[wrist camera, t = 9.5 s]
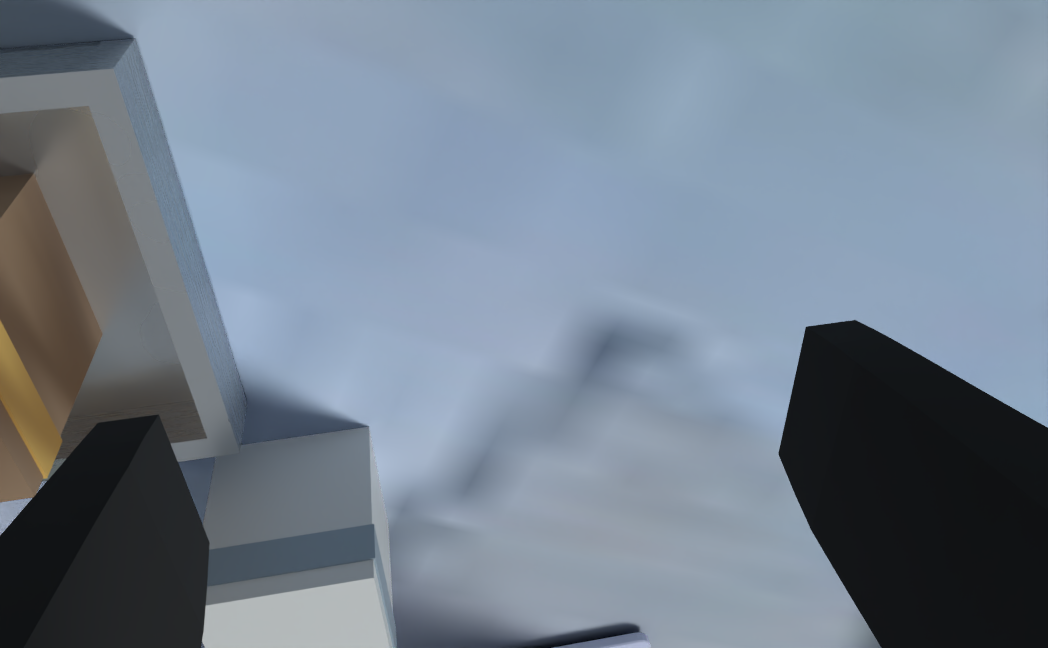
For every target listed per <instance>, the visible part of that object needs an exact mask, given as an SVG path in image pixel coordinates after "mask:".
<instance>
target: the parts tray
mask: <svg viewBox="0 0 1048 648" xmlns="http://www.w3.org/2000/svg"><path fill="white" fill-rule="evenodd" d="M32 173H34V175H35V177H36V180H37V182H38V184H39V187H40V189H41V191H42V194H43V196H44V198H45V201H46V203H47V205H48V208H49V210H50V212H51V215H52V217H53V219H54V222H55V224H56V226H57V229H58V231H59V233H60V236H61V238H62V240H63V243H64V245H65V247H66V250H67V252H68V254H69V257H70V259H71V261H72V264H73V266H74V268H75V271H76V273H77V275H78V277H79V280H80V282H81V284H82V287H83V289H84V291H85V294H86V296H87V298H88V301H89V303H90V305H91V308H92V310H93V312H94V315H95V317H96V319H97V322H98V324H99V326H100V329H101V331H102V333H103V335H102V337H101V340H100V342H99V345H98V347H97V349H96V352H95V354H94V357H93V359H92V361H91V364H90V366H89V369H88V371H87V373H86V376H85V378H84V381H83V383H82V385H81V388H80V390H79V393H78V395H77V397H76V400H75V402H74V405H73V407H72V409H71V412H70V414H69V417H68V419H67V421H66V424H65V426H64V429H63V431H62V433H61V436H60V437H61V439H62V440H63V441H62V444H61V446H60V449H59V451H58V453H57V456H56V458H55V461H54V463H53V466H52V468H51V471H50V473H49V475H48V478H45V479H42V481H48V480H49V479H50V477H51V476H52V475H53V474H54V473H55V472H56V470H57V469H58V468H59V467H60V466H61V464H62V463H63V462H64V461H65V460H66V459H67V457H68V456H69V455H70V454H71V453H72V452H73V450H74V449H75V448H76V447H77V446H78V445H79V443H80V442H81V441H82V440H83V439H84V438H85V437H86V436H87V434H88V433H89V432H90V431H91V430H92V429H93V428H94V427H95V426H96V424H97V423H99V422H107V421H114V420H122V419H129V418H136V417H144V416H151V415H158V414H159V416H160V419H161V421H162V424H163V426H164V429H165V431H166V434H167V436H168V439H169V441H170V444H171V446H172V449H173V451H174V454H175V456H176V459H177V461H178V462H182V461H189V460H196V459H203V458H210V457H217V456H224V455H231V454H238V453H240V450H241V443H242V437H243V430H244V423H245V417H246V410H247V401H246V398H245V394H244V391H243V388H242V384H241V381H240V378H239V375H238V371H237V368H236V365H235V362H234V358H233V355H232V352H231V349H230V345H229V342H228V339H227V336H226V332H225V329H224V326H223V323H222V319H221V316H220V313H219V309H218V306H217V303H216V300H215V296H214V293H213V290H212V287H211V283H210V280H209V277H208V274H207V270H206V267H205V264H204V261H203V257H202V254H201V251H200V247H199V244H198V241H197V238H196V234H195V231H194V228H193V225H192V221H191V218H190V215H189V212H188V208H187V205H186V202H185V199H184V195H183V192H182V189H181V186H180V182H179V179H178V176H177V172H176V169H175V166H174V163H173V159H172V156H171V153H170V150H169V146H168V143H167V140H166V137H165V133H164V130H163V127H162V124H161V120H160V117H159V114H158V110H157V107H156V104H155V101H154V97H153V94H152V91H151V88H150V84H149V81H148V78H147V75H146V71H145V68H144V65H143V62H142V58H141V55H140V52H139V48H138V45H137V42H136V39H135V38H134V39H121V40H109V41H96V42H83V43H71V44H58V45H45V46H32V47H20V48H7V49H0V177H3V176H13V175H22V174H32ZM42 481H41V482H42Z"/></svg>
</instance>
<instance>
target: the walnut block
mask: <svg viewBox="0 0 1048 648" xmlns="http://www.w3.org/2000/svg"><path fill="white" fill-rule="evenodd" d="M102 335H103V333H102V331H101V329H100V326H99V324H98V322H97V319H96V317H95V315H94V312H93V310H92V308H91V305H90V303H89V301H88V298H87V296H86V294H85V291H84V289H83V287H82V284H81V282H80V280H79V277H78V275H77V273H76V271H75V268H74V266H73V264H72V261H71V259H70V257H69V254H68V252H67V250H66V247H65V245H64V243H63V240H62V238H61V236H60V233H59V231H58V229H57V226H56V224H55V222H54V219H53V217H52V215H51V212H50V210H49V208H48V205H47V203H46V201H45V198H44V196H43V194H42V191H41V189H40V187H39V184H38V182H37V180H36V177H35V175H34V173H32V174H22V175H13V176H3V177H0V502H5V501H12V500H18V499H25V498H32V497H34V496H35V495H36V493H37V491H38V489H39V486H40V484H41V481H42V479H45V478H48V475H49V473H50V471H51V468H52V466H53V463H54V461H55V458H56V456H57V453H58V451H59V449H60V446H61V444H62V441H63V440H62V439H61V437H60V436H61V433H62V431H63V429H64V426H65V424H66V421H67V419H68V417H69V414H70V412H71V409H72V407H73V405H74V402H75V400H76V397H77V395H78V393H79V390H80V388H81V385H82V383H83V381H84V378H85V376H86V373H87V371H88V369H89V366H90V364H91V361H92V359H93V357H94V354H95V352H96V349H97V347H98V345H99V342H100V340H101V337H102Z"/></svg>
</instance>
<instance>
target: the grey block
mask: <svg viewBox="0 0 1048 648" xmlns="http://www.w3.org/2000/svg"><path fill="white" fill-rule="evenodd" d="M203 527H204V530H205V532H206V535H207V537H208V540H209V542H210V545H209V562H208V580H207V595H206V607H205V620H204V632H203V637H202V642H203V644H204V646H205V648H397V639H396V625H395V620H394V615H393V603H392V584H391V565H390V546H389V527H388V520H387V515H386V510H385V505H384V500H383V495H382V490H381V484H380V479H379V474H378V469H377V464H376V459H375V454H374V449H373V444H372V439H371V434H370V429H369V427H362V428H355V429H348V430H341V431H334V432H328V433H321V434H314V435H307V436H300V437H293V438H286V439H279V440H272V441H265V442H258V443H251V444H244V445H241V450H240V453H238V454H231V455H224V456H217V457H215V462H214V467H213V473H212V478H211V484H210V489H209V494H208V500H207V505H206V510H205V516H204V521H203Z"/></svg>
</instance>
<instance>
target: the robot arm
mask: <svg viewBox="0 0 1048 648" xmlns="http://www.w3.org/2000/svg"><path fill="white" fill-rule="evenodd" d="M779 456H780V459H781V461H782V464H783V466H784V469H785V471H786V473H787V476H788V478H789V481H790V483H791V485H792V488H793V490H794V493H795V495H796V497H797V499H798V502H799V504H800V506H801V508H802V510H803V513H804V515H805V517H806V519H807V522H808V524H809V526H810V528H811V530H812V532H813V534H814V535H815V537H816V539H817V541H818V542H819V544H820V546H821V547H822V549H823V551H824V553H825V554H826V556H827V558H828V559H829V561H830V563H831V564H832V566H833V568H834V569H835V571H836V573H837V574H838V576H839V578H840V580H841V581H842V583H843V585H844V586H845V588H846V590H847V591H848V593H849V595H850V596H851V598H852V600H853V601H854V603H855V604H856V606H857V608H858V609H859V611H860V613H861V614H862V616H863V618H864V619H865V621H866V623H867V624H868V626H869V628H870V629H871V631H872V633H873V634H874V636H875V638H876V639H877V641H878V642H879V644H880V646H881V647H882V648H1048V428H1047V427H1045V426H1044V425H1042V424H1040V423H1038V422H1036V421H1035V420H1033V419H1031V418H1029V417H1027V416H1026V415H1024V414H1022V413H1020V412H1019V411H1017V410H1015V409H1013V408H1012V407H1010V406H1008V405H1006V404H1004V403H1003V402H1001V401H999V400H997V399H996V398H994V397H992V396H990V395H989V394H987V393H985V392H983V391H982V390H980V389H978V388H976V387H975V386H973V385H971V384H970V383H968V382H966V381H964V380H963V379H961V378H959V377H957V376H956V375H954V374H952V373H951V372H949V371H947V370H945V369H944V368H942V367H940V366H938V365H937V364H935V363H933V362H931V361H930V360H928V359H926V358H925V357H923V356H921V355H919V354H918V353H916V352H914V351H912V350H910V349H909V348H907V347H905V346H903V345H902V344H900V343H898V342H896V341H894V340H893V339H891V338H889V337H887V336H885V335H884V334H882V333H880V332H878V331H876V330H874V329H872V328H870V327H868V326H866V325H864V324H862V323H860V322H858V321H856V320H853V321H845V322H838V323H831V324H823V325H816V326H808V327H806V329H805V334H804V339H803V343H802V348H801V352H800V357H799V362H798V366H797V371H796V375H795V380H794V385H793V389H792V394H791V399H790V403H789V408H788V412H787V417H786V422H785V426H784V431H783V435H782V440H781V445H780V449H779ZM209 545H210V542H209V540H208V537H207V535H206V532H205V530H204V527H203V525H202V522H201V519H200V517H199V514H198V512H197V509H196V507H195V504H194V502H193V499H192V497H191V494H190V492H189V489H188V487H187V484H186V482H185V479H184V477H183V474H182V472H181V469H180V466H179V464H178V461H177V459H176V456H175V454H174V451H173V449H172V446H171V444H170V441H169V439H168V436H167V434H166V431H165V429H164V426H163V424H162V421H161V419H160V416H159V414H158V415H151V416H144V417H136V418H129V419H122V420H114V421H107V422H99V423H97V424H96V426H95V427H94V428H93V429H92V430H91V431H90V432H89V433H88V434H87V436H86V437H85V438H84V439H83V440H82V441H81V442H80V443H79V445H78V446H77V447H76V448H75V449H74V450H73V452H72V453H71V454H70V455H69V456H68V457H67V459H66V460H65V461H64V462H63V463H62V464H61V466H60V467H59V468H58V469H57V470H56V472H55V473H54V474H53V475H52V476H51V477H50V479H49V480H48V481H47V482H46V483H45V484H44V486H43V487H42V488H41V489H40V490H39V491H38V493H37V494H36V495H35V496H34V497H33V498H32V500H31V501H30V502H29V503H28V504H27V505H26V507H25V508H24V509H23V510H22V511H21V512H20V514H19V515H18V516H17V517H16V518H15V519H14V521H13V522H12V523H11V524H10V525H9V526H8V528H7V529H6V530H5V531H4V532H3V533H2V534H1V536H0V648H201V643H202V637H203V632H204V620H205V607H206V595H207V580H208V562H209ZM553 648H650V642H649V639H648V636H647V635H646V634H644V633H640V632H637V633H630V634H625V635H619V636H614V637H608V638H603V639H597V640H592V641H586V642H581V643H575V644H570V645H564V646H559V647H553Z"/></svg>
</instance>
